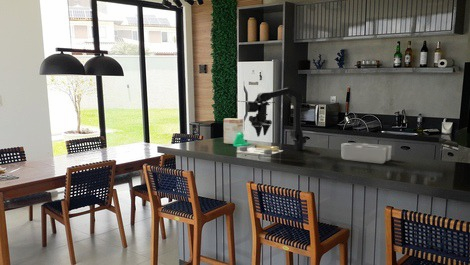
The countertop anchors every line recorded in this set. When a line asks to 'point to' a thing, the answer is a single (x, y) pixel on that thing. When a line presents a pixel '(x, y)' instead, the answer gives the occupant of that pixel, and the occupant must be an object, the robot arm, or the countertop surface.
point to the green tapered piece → (240, 140)
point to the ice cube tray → (366, 152)
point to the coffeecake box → (232, 129)
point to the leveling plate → (257, 151)
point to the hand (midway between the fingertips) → (261, 135)
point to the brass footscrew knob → (267, 147)
